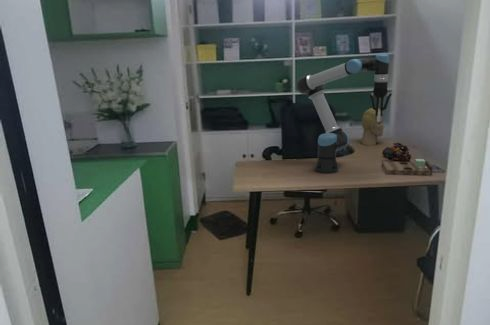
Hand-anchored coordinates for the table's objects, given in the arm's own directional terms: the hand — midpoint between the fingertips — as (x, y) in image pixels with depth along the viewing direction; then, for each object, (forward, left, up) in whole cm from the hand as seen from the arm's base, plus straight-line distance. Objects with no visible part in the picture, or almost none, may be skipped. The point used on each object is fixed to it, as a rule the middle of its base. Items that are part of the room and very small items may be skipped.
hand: (378, 121), depth 219 cm
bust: (+8, +79, -33) cm, 86 cm away
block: (+27, +5, -29) cm, 40 cm away
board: (+19, +5, -32) cm, 38 cm away
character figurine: (+18, +28, -33) cm, 47 cm away
